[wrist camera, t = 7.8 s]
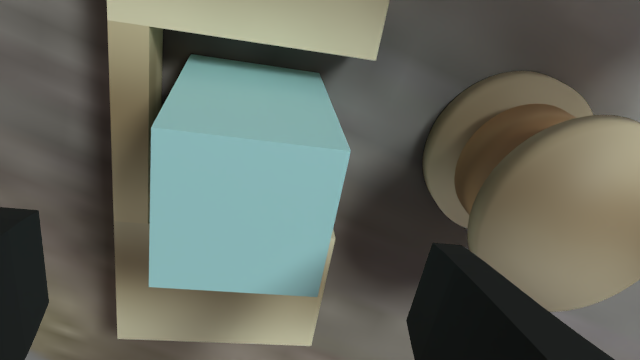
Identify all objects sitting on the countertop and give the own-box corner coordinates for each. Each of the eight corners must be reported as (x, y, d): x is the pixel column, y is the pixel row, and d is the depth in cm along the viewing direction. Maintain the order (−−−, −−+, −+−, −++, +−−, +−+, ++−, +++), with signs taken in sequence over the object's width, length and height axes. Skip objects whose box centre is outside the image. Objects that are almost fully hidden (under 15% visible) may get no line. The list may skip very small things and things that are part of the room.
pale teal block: (299, 181, 17) (317, 296, 12) (185, 169, 16) (148, 286, 11) (319, 72, 15) (350, 151, 10) (190, 53, 14) (151, 127, 9)
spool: (544, 227, 19) (629, 316, 15) (404, 214, 18) (450, 306, 14) (611, 83, 16) (739, 141, 12) (450, 58, 15) (527, 111, 11)
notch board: (306, 308, 20) (311, 346, 18) (130, 299, 18) (117, 339, 17) (402, -145, 12) (425, -157, 11) (124, -210, 11) (99, -236, 9)
